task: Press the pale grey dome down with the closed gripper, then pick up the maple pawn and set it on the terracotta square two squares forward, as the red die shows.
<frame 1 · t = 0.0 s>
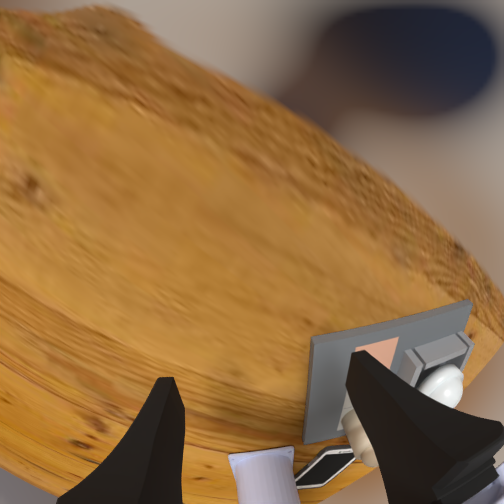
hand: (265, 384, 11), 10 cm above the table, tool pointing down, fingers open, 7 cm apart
game board: (386, 378, 27), on the table
cell phone: (322, 465, 35), on the table
dome: (442, 392, 23), point 5 cm above the table, slide at 0.0 cm
pawn: (357, 415, 28), point 1 cm above the table, touching game board
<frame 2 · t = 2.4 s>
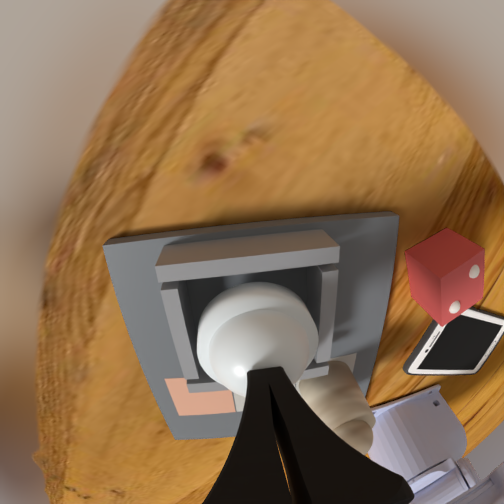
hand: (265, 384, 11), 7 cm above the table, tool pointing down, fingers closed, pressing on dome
game board: (264, 351, 19), on the table
cell phone: (460, 339, 23), on the table
dome: (258, 349, 13), point 5 cm above the table, slide at 0.1 cm, touching gripper
pawn: (325, 380, 20), point 1 cm above the table, touching game board
red die: (429, 263, 18), on the table
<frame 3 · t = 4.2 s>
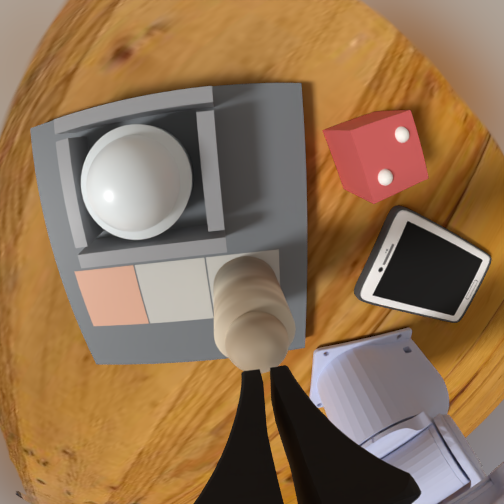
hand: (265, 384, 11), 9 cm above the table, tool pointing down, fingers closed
game board: (172, 242, 18), on the table
cell phone: (430, 270, 22), on the table
dome: (133, 183, 13), point 4 cm above the table, slide at 1.2 cm
pawn: (245, 285, 19), point 1 cm above the table, touching game board
red die: (360, 149, 17), on the table
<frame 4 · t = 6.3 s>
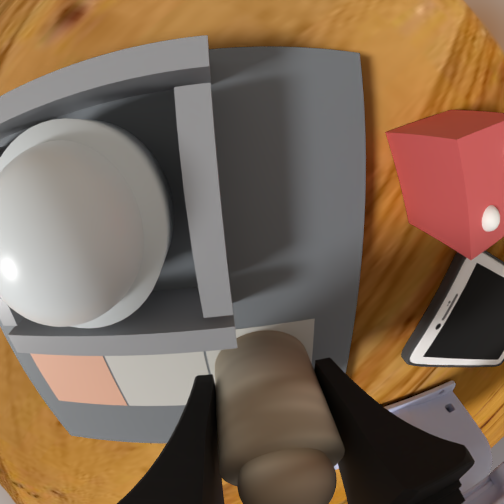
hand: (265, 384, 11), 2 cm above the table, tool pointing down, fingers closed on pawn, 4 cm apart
game board: (150, 305, 11), on the table
cell phone: (483, 314, 16), on the table
dome: (60, 232, 6), point 4 cm above the table, slide at 1.2 cm
pawn: (261, 366, 12), point 1 cm above the table, touching game board, gripper
red die: (433, 164, 10), on the table
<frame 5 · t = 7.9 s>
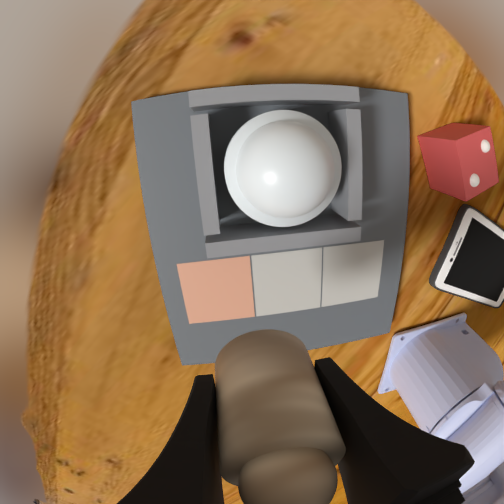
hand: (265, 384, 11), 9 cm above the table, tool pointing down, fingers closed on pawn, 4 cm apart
game board: (287, 233, 19), on the table
cell phone: (481, 261, 22), on the table
dome: (285, 169, 13), point 4 cm above the table, slide at 1.2 cm
pawn: (262, 365, 12), point 8 cm above the table, touching gripper
red die: (442, 154, 18), on the table
when the fingers open (4 cm above the table, at t = 9.5 s): pawn drops 2 cm, resting on game board.
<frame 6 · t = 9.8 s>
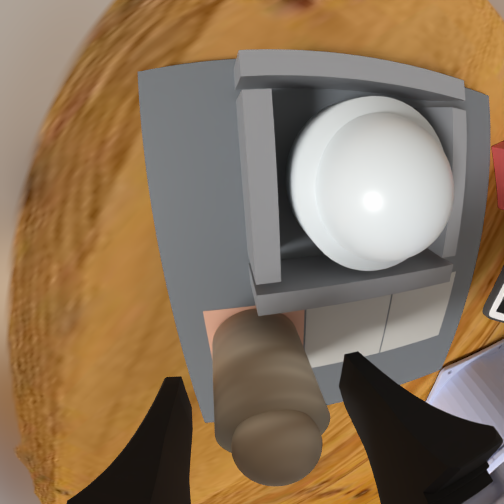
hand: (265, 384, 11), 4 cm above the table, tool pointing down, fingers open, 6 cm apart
game board: (350, 265, 14), on the table
dome: (383, 186, 8), point 4 cm above the table, slide at 1.2 cm
pawn: (255, 344, 13), point 1 cm above the table, touching game board
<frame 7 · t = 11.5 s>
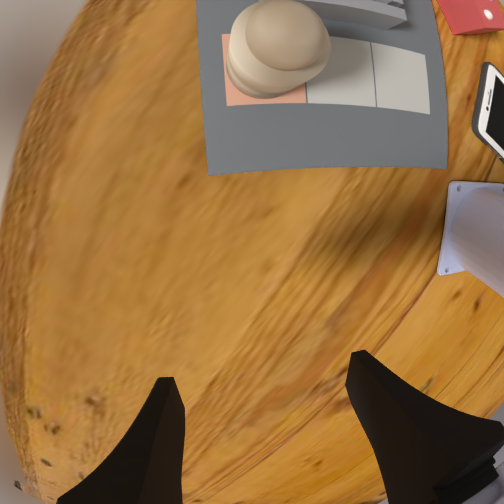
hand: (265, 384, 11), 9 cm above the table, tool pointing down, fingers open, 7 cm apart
game board: (333, 31, 14), on the table
pawn: (263, 65, 14), point 1 cm above the table, touching game board
red die: (457, 13, 13), on the table
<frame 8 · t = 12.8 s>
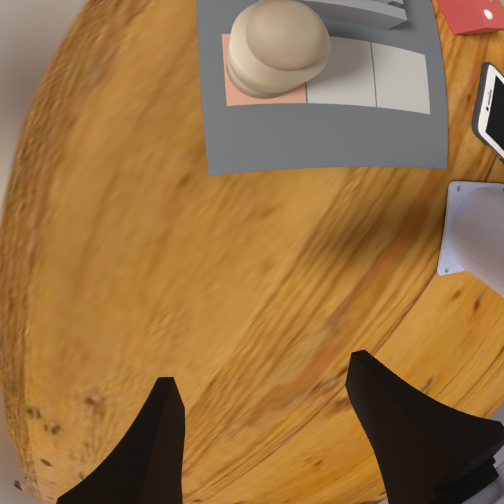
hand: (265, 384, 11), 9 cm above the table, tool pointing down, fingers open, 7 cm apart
game board: (333, 31, 14), on the table
pawn: (263, 65, 14), point 1 cm above the table, touching game board
red die: (457, 13, 13), on the table
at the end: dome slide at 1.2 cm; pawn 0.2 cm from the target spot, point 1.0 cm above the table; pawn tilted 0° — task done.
